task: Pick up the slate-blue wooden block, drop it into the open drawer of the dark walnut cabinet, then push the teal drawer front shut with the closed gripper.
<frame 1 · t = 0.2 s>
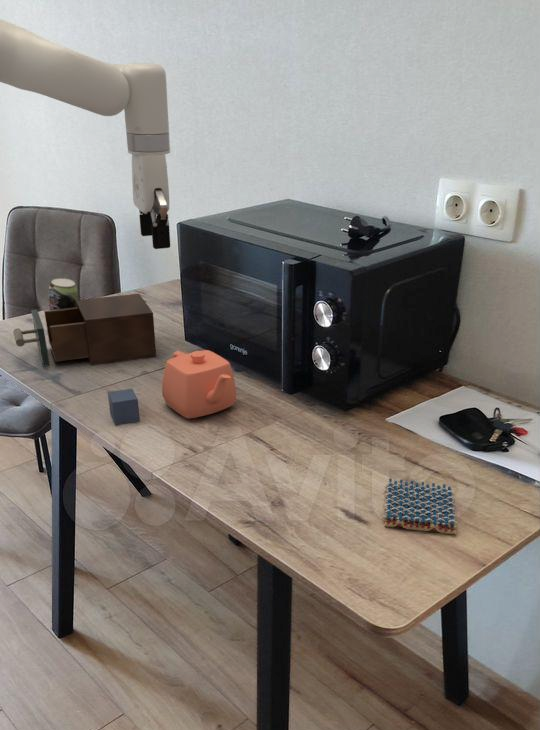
hand: (155, 241, 135), 24 cm above the table, tool pointing down, fingers open, 9 cm apart
block: (124, 417, 125), on the table
cabinet: (118, 349, 150), on the table
woven mat: (418, 512, 102), on the table
beverage can: (66, 334, 158), on the table
teapot: (202, 408, 129), on the table
drawer: (57, 335, 144), point 5 cm above the table, slide at 8.0 cm
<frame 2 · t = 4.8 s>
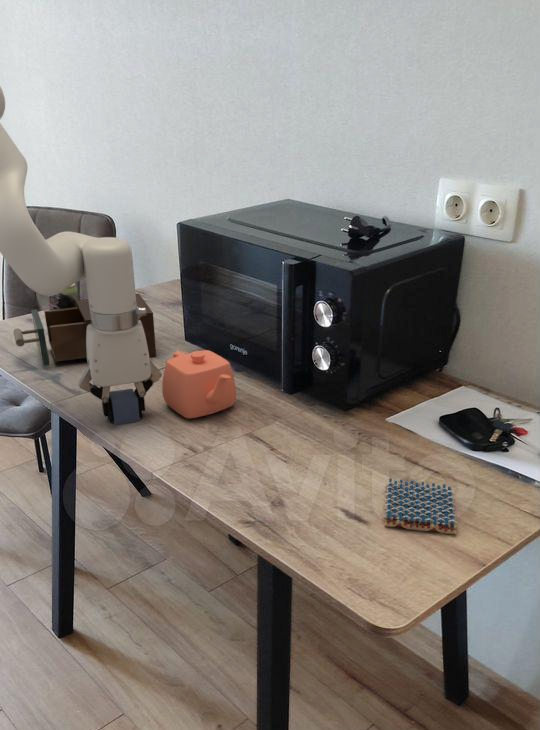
hand: (124, 415, 125), 0 cm above the table, tool pointing down, fingers closed on block, 4 cm apart
block: (124, 417, 125), on the table, touching gripper
everything else where it was.
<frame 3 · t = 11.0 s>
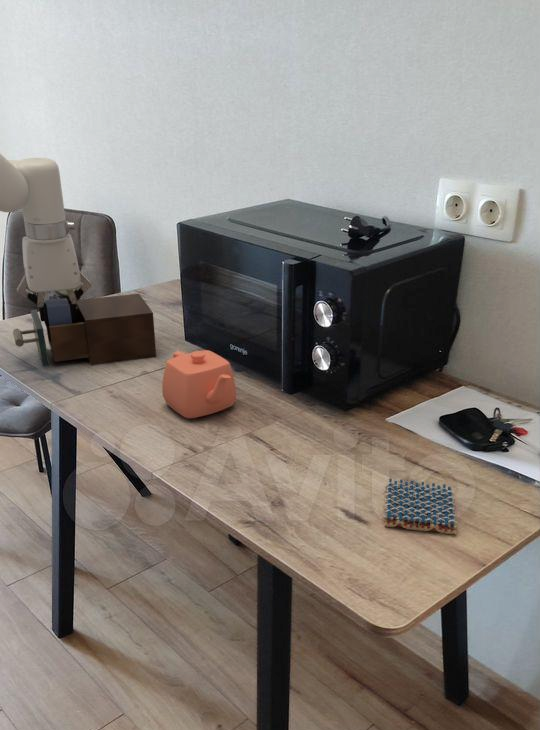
hand: (59, 321, 143), 8 cm above the table, tool pointing down, fingers closed on block, 4 cm apart
block: (59, 323, 143), point 7 cm above the table, touching gripper
everything else where it was.
when the fingers open (10 cm above the table, at t = 23.2 s): block drops 8 cm, resting on drawer.
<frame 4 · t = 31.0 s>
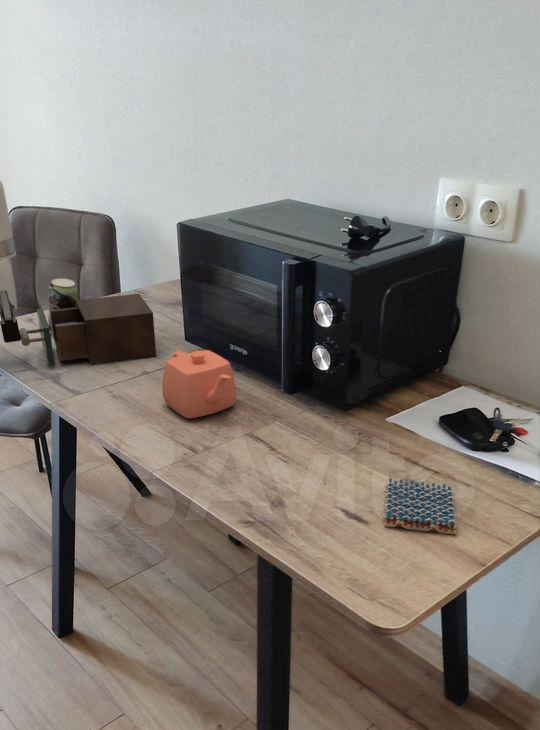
hand: (12, 340, 141), 5 cm above the table, tool pointing down, fingers closed
block: (70, 346, 146), point 2 cm above the table, touching drawer
drawer: (63, 334, 144), point 5 cm above the table, slide at 6.9 cm, touching block, gripper
everything else where it was.
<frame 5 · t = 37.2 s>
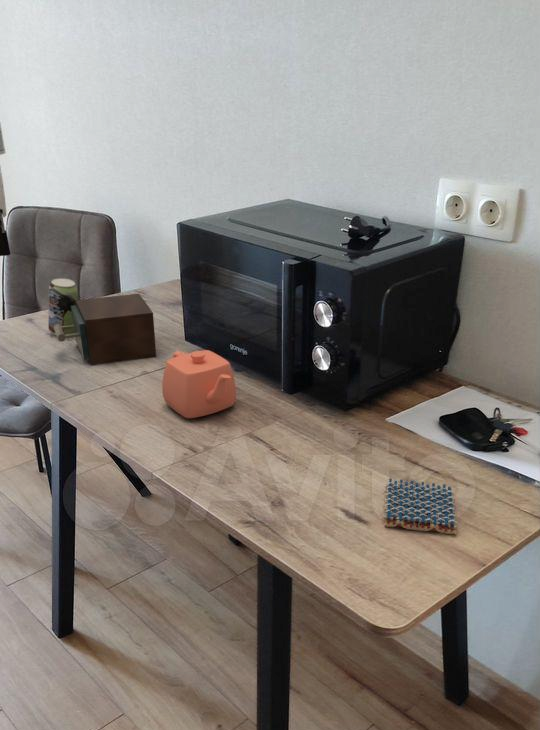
hand: (1, 254, 128), 23 cm above the table, tool pointing down, fingers closed
block: (103, 342, 148), point 2 cm above the table, touching drawer
drawer: (97, 330, 147), point 5 cm above the table, slide at 0.0 cm, touching block, cabinet
everything else where it was.
at the end: block inside the target area in the cabinet (2.9 cm from its centre), point 2.0 cm above the cabinet's base; drawer slide at 0.0 cm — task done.
